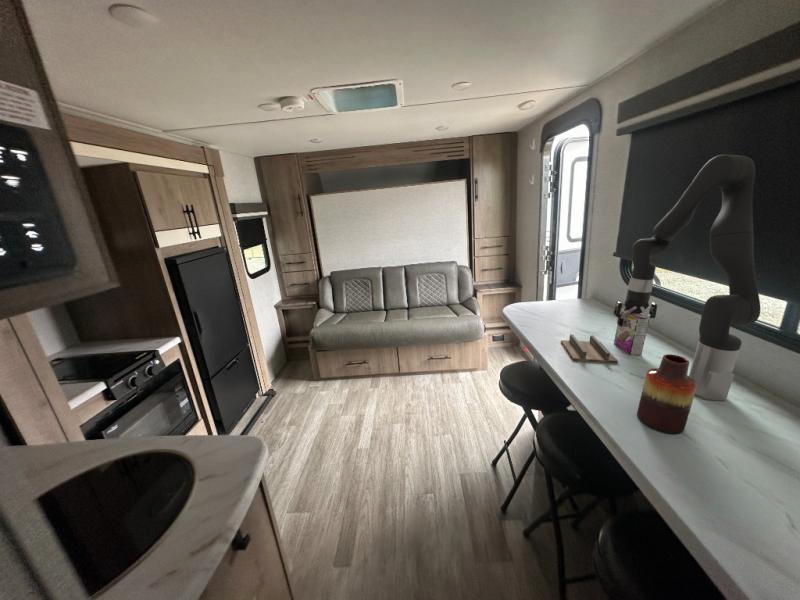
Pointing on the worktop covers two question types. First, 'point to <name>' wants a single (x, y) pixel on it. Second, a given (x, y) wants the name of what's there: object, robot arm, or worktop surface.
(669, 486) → the worktop surface
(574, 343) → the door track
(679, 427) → the vase
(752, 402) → the worktop surface
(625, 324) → the candy bar box
